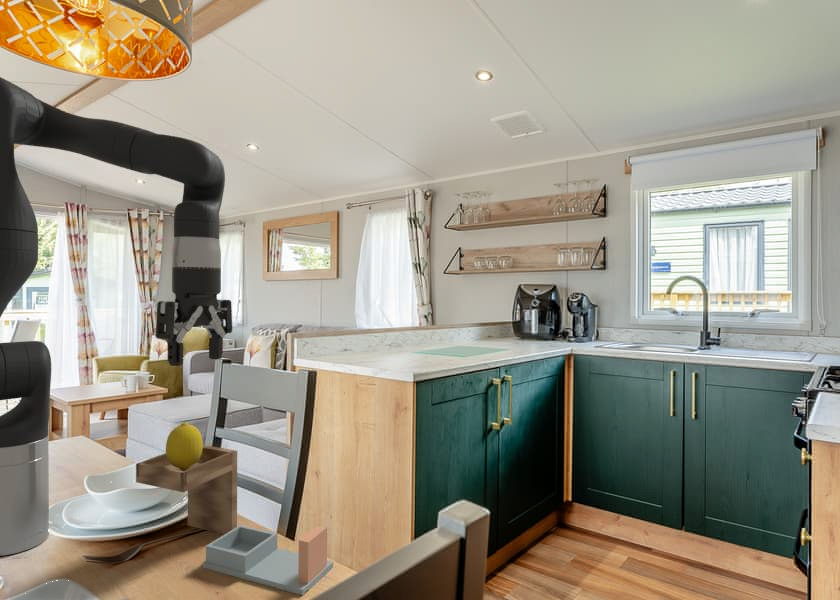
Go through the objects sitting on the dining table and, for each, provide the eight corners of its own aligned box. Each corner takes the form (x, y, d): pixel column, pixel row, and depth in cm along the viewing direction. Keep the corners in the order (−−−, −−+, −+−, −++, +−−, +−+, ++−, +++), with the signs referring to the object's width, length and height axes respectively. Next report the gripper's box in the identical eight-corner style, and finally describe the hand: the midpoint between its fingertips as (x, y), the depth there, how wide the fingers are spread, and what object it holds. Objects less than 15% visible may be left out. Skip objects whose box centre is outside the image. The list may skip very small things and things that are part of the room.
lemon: (177, 479, 82) (177, 429, 81) (159, 472, 85) (159, 423, 85) (209, 469, 86) (209, 422, 86) (190, 462, 89) (190, 416, 89)
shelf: (136, 553, 83) (136, 463, 83) (192, 522, 94) (193, 443, 94) (183, 566, 80) (183, 472, 79) (236, 533, 90) (237, 450, 90)
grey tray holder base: (203, 567, 79) (203, 523, 79) (239, 543, 87) (239, 503, 87) (302, 595, 73) (303, 547, 72) (333, 566, 80) (333, 523, 80)
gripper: (179, 263, 79) (179, 370, 79) (244, 267, 92) (243, 358, 93) (143, 264, 82) (143, 366, 82) (211, 267, 95) (210, 355, 95)
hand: (196, 362), depth 87 cm, fingers open, 8 cm apart
